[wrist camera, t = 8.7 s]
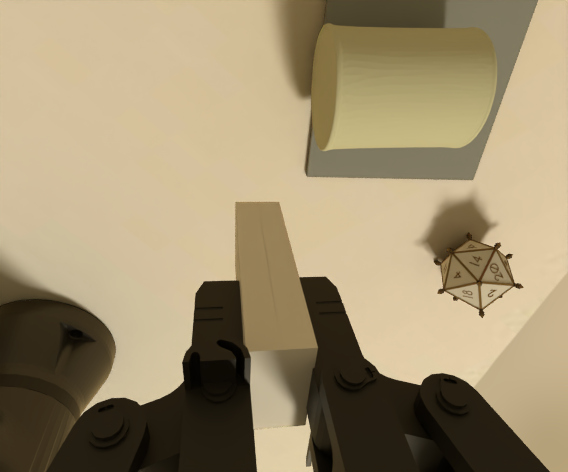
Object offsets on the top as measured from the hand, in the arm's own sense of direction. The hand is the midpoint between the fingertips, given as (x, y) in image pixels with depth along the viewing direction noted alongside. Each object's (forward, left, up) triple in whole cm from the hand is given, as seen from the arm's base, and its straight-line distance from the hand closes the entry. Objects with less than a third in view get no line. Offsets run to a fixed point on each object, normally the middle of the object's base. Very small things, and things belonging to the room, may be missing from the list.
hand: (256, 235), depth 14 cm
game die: (+27, -18, -25) cm, 41 cm away
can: (+6, +1, -19) cm, 20 cm away
